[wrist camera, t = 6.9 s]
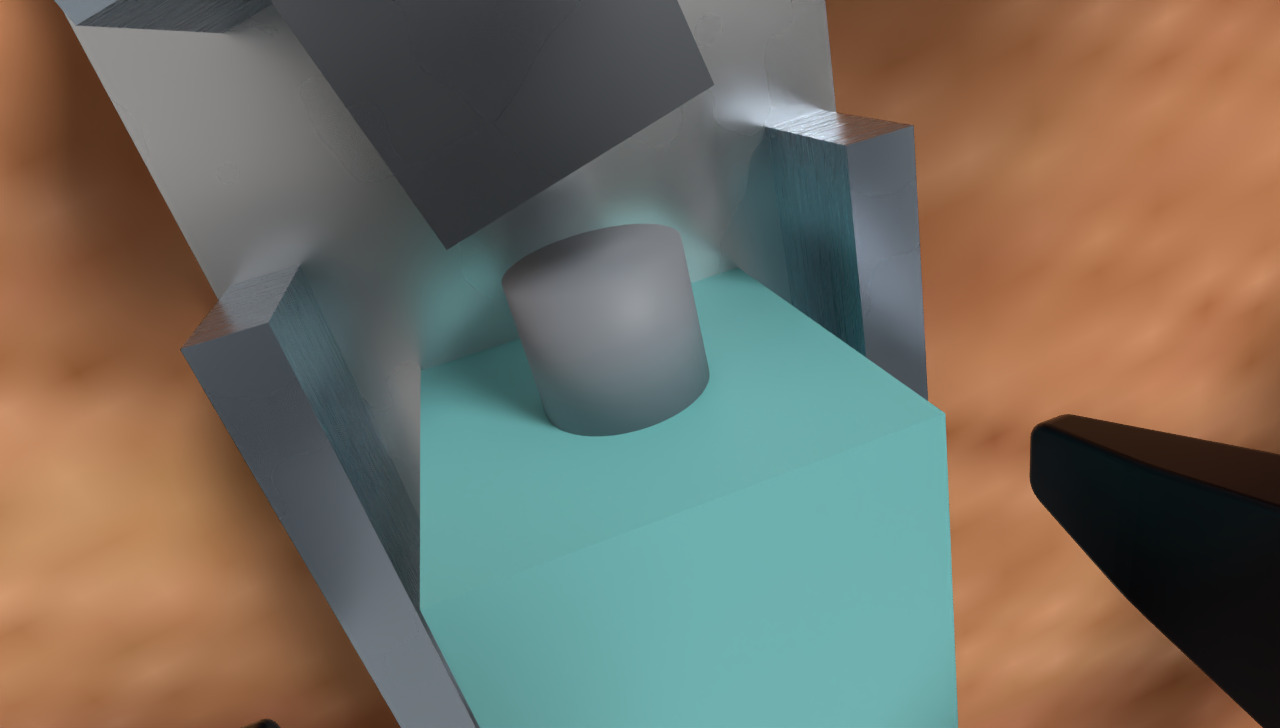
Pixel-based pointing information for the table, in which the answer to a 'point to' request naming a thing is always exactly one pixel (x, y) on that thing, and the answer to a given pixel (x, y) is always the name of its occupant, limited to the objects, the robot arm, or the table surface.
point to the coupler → (681, 508)
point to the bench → (372, 232)
